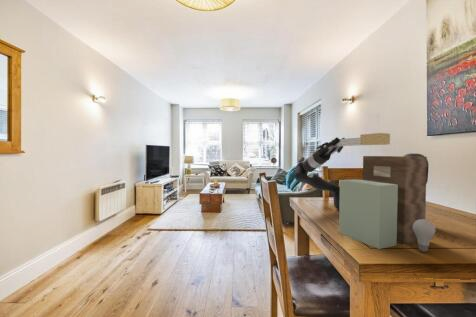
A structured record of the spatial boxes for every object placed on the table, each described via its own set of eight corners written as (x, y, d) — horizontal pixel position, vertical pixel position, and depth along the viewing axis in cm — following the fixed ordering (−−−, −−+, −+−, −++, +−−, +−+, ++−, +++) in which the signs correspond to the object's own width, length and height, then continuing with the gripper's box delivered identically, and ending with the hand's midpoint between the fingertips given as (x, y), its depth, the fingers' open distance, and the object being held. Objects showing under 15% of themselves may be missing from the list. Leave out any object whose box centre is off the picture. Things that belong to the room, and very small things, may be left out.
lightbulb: (439, 256, 76) (440, 222, 76) (417, 254, 78) (418, 221, 77) (428, 249, 82) (428, 217, 82) (408, 247, 84) (409, 216, 83)
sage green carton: (355, 230, 102) (355, 179, 102) (396, 245, 85) (397, 184, 85) (338, 232, 99) (339, 180, 98) (378, 249, 82) (380, 185, 82)
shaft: (338, 146, 111) (338, 137, 111) (389, 144, 88) (389, 133, 88) (329, 146, 109) (329, 137, 109) (378, 144, 86) (379, 133, 86)
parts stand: (381, 226, 108) (382, 156, 107) (424, 239, 91) (426, 156, 91) (361, 229, 103) (362, 156, 103) (403, 244, 87) (405, 156, 86)
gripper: (332, 164, 121) (356, 146, 107) (309, 164, 116) (332, 146, 102) (327, 151, 124) (350, 132, 110) (304, 151, 119) (326, 131, 105)
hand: (341, 139), depth 106 cm, fingers closed on shaft, 3 cm apart
